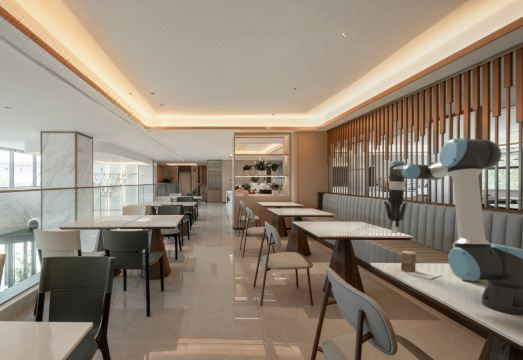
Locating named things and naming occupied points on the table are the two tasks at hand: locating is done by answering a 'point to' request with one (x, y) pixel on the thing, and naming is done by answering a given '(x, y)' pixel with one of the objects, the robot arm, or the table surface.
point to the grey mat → (424, 274)
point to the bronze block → (408, 261)
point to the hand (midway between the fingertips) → (394, 232)
